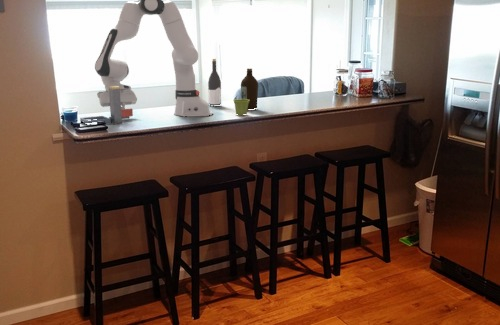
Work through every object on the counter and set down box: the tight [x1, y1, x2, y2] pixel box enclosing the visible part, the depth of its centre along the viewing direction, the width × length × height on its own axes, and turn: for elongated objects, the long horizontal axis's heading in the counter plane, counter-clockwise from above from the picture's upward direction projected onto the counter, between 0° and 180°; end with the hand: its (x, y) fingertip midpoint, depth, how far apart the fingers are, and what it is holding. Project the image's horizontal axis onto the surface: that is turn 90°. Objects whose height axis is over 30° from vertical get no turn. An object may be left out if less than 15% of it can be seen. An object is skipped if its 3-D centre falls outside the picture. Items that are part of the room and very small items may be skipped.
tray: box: [80, 115, 112, 125], centre depth 256 cm, size 12×12×2 cm
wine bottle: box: [207, 58, 222, 105], centre depth 316 cm, size 8×8×30 cm
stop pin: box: [109, 86, 123, 125], centre depth 253 cm, size 4×4×19 cm
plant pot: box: [233, 98, 250, 116], centre depth 282 cm, size 9×9×9 cm
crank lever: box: [108, 108, 134, 120], centre depth 262 cm, size 13×4×5 cm, turn 125°
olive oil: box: [240, 68, 259, 109], centre depth 300 cm, size 11×11×25 cm
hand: (122, 110), depth 266 cm, fingers closed
